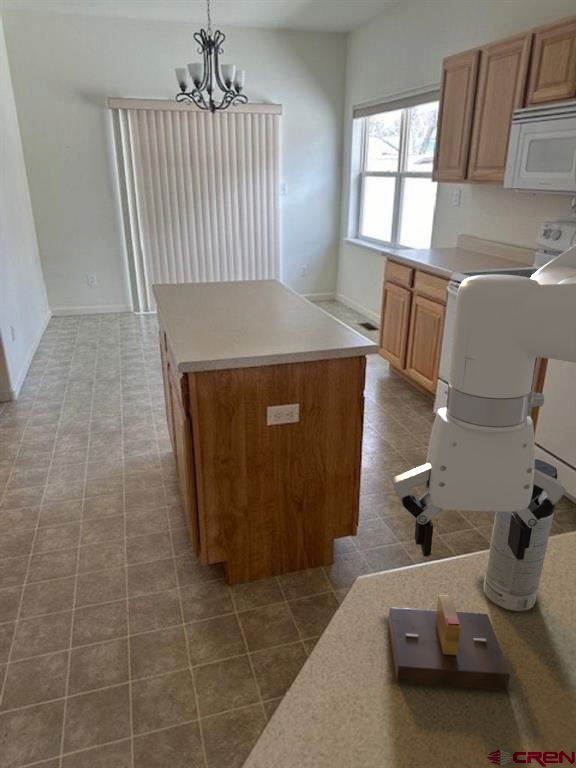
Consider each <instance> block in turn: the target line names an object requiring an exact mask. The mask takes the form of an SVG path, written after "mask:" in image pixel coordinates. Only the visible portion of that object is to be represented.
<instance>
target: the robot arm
mask: <svg viewBox="0 0 576 768" xmlns="http://www.w3.org/2000/svg"><path fill="white" fill-rule="evenodd" d="M453 321H454V322H453V330H452V331H453V332H452V343H451V355H450V365H449V375H448V387H447V395H446V396H447V397H446V399H447V400H446V407H440V408H439V409H438V410H437V412H436V415H435V418H434V421H433V424H432V425H433V426H432V429H431V433H430V438H429V443H428V449H427V455H426V459H425V464H422V465H420V466H417V467H416V468H413V469H410V470H408V471H406V472H403V473H401V474H398V475H396V476H394V477H393V478H392V480H391V481H392V486H393V488H394V491H395V493H396V495H397V497H398V499H399V500H400V502H401V503H402V506H403V508H404V509H405V510H407V511H408V512H409V513H410V514H411V515H412V516H413V517H414V519H415V525H414V526H415V527H414V542H415V545H416V546H417V545H419V546H420V548H421V551H422V556H423V557H425V558H426V557H430V556H431V555H432V546H433V545H432V544H433V534H434V524H433V521H432V519H433V518H434V517H435V516H437V515H438V514H439V513H440V512H441V511H442V510H445V511H462V512H463V511H464V512H466V511H467V512H495V513H496V512H513V514H512V515H511V521H510V528H509V535H508V545H509V547H510V548H511V550H512V552H513V554H514V556H515V558H517V559H518V560H523V559H524V554H525V548H529V545H530V538H531V532H532V528H534V527H536V526H537V525H538V520H540V519H541V518H542V517H544V516H545V515H547V514H548V513H549V512H551V511H552V510H553V508H554V506H553V505H554V504H555V503H556V504H558V502H559V500H560V499H562V497H563V495H564V494H565V493H566V490H567V489H566V487H565V485H564V484H563V483H562V482H561V481H560V480H558V479H557V480H556V479H554V478H552V477H550V476H548V475H546V474H544V473H542V472H540V471H538V470H536V469H535V459H536V447H535V444H536V443H535V427H534V422H533V419H532V417H531V416H530V414H531V410H532V408H533V409H535V408H536V407H543V406H544V404H545V396H544V393H543V392H536V391H533V390H532V385H533V379H534V372H535V364H536V359H537V358H543V359H549V360H550V359H551V360H555V361H556V360H557V361H562V362H569V363H575V364H576V244H574V245H572V246H571V247H569V248H568V249H567V250H565V251H564V252H562V253H561V254H559V255H558V256H556V257H554V258H553V259H552V260H550V261H549V262H548V263H546V264H544V265H543V266H541V267H540V268H539V269H538V270H537V271H535V272H534V273H533V274H532V275H531V277H526V276H522V275H521V276H520V275H513V274H480V275H474V276H470V277H467V278H466V279H464V280H463V281H462V282H461V283H460V284H459V286H458V289H457V292H456V299H455V309H454V319H453ZM423 483H424V487H425V489H427V490H426V491H425V492H424V493H423V494H422V495H421V496H420V497H419V498H418V497H416V496H415V494H413V493H412V492H411V489H412V488H414V487H416V486H418V485H421V484H423ZM533 484H534V485H536V486H538V487H540V488H542V489H544V490H543V492H542V494H541V495H538V496H537V497H536V498H534V499H533V500H531V497H532V492H533ZM556 504H555V505H556Z"/></svg>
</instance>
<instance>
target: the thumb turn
mask: <svg viewBox="0 0 576 768" xmlns="http://www.w3.org/2000/svg"><path fill="white" fill-rule="evenodd" d="M436 610H437V611H436V619H435V623H436V627H437V630H438V634H439V638H440V642H441V646H442V650H443V654H446V655H457V650H458V643H459V637H460V630H461V626H460V623H459V620H458V616H457V613H456V612H457V610H456V606H455V603H454V601H453V597H452V596H451V595H444V594H438V596H437V605H436Z"/></svg>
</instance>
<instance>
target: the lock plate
mask: <svg viewBox="0 0 576 768" xmlns="http://www.w3.org/2000/svg"><path fill="white" fill-rule="evenodd" d="M436 611H437V609H436V610H434V609H420V608H406V607H405V608H403V607H402V608H401V607H389V611H388V621H387V622H388V629H389V638H390V643H391V650H392V658H393V666H394V673H395V681H396V682H398V683H411V684H425V685H438V686H453V687H465V688H466V687H467V688H468V687H469V688H481V689H494V690H495V689H496V690H508V688H509V683H510V678H511V672H510V670H509V667H508V665H507V663H506V662H507V661H506V660H505V657H504V655H503V651H502V649H501V646H500V644H499V641H498V639H497V635H496V633H495V631H494V628H493V625H492V623H491V620H490V618H489V615H488V613H484V612H483V613H482V612H469V611H467V612H466V611H456V613H457V616H458V620H459V623H460V626H461V630H460V637H459V643H458V650H457V655H446V654H443V650H442V646H441V642H440V638H439V634H438V630H437V627H436V623H435V619H436Z"/></svg>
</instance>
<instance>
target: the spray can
mask: <svg viewBox="0 0 576 768" xmlns="http://www.w3.org/2000/svg"><path fill="white" fill-rule="evenodd" d="M535 469H536V470H538V471H540V472H542V473H544V474H546V475H548V476H550V477H552V478H554V479H556V480H558V469H557V468H556V467H555V466H554V465H553V464H551V463H548V462H546V461H543V460H541V459H537V458H535ZM543 490H544V489H542V488H540V487H538V486H536V485H534V484H533V492H532V497H531V500H533V499H534V498H536V497H537V496H538V495H541V494H542V492H543ZM556 504H557V503H555V504H554V505H553V506H554V508H553V510H552V511H551V512H549V513H548V514H547V515H545V516H544V517H542V518H541V519H540V520H538V525H537V526H536V527H534V528H532V532H531V538H530V545H529V548H525V554H524V559H523V560H518V559H517V558H515V556H514V554H513V552H512V550H511V548H510V547H509V545H508V535H509V528H510V521H511V515H512V514H513V512H495V514H494V520H493V527H492V533H491V537H490V545H489V549H488V550H489V551H488V557H487V563H486V569H485V575H484V580H483V591H484V594H485V596H486V597H487V598H488V599H489V600H490V601H491V602H492V603H494V604H495V605H497V606H499V607H501V608H503V609H506V610H509V611H515V612H516V611H517V612H523V611H528V610H530V609H531V608H533V607H534V606H535V604H536V601H537V595H538V590H539V587H540V581H541V577H542V571H543V567H544V562H545V559H546V558H545V557H546V552H547V547H548V543H549V537H550V533H551V528H552V525H553V519H554V513H555V510H556V509H555V508H556Z"/></svg>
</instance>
